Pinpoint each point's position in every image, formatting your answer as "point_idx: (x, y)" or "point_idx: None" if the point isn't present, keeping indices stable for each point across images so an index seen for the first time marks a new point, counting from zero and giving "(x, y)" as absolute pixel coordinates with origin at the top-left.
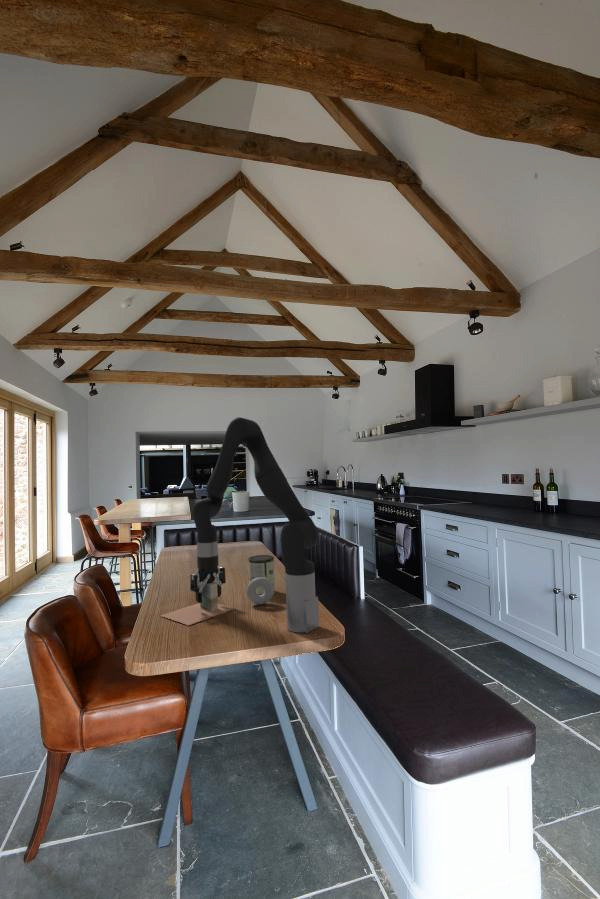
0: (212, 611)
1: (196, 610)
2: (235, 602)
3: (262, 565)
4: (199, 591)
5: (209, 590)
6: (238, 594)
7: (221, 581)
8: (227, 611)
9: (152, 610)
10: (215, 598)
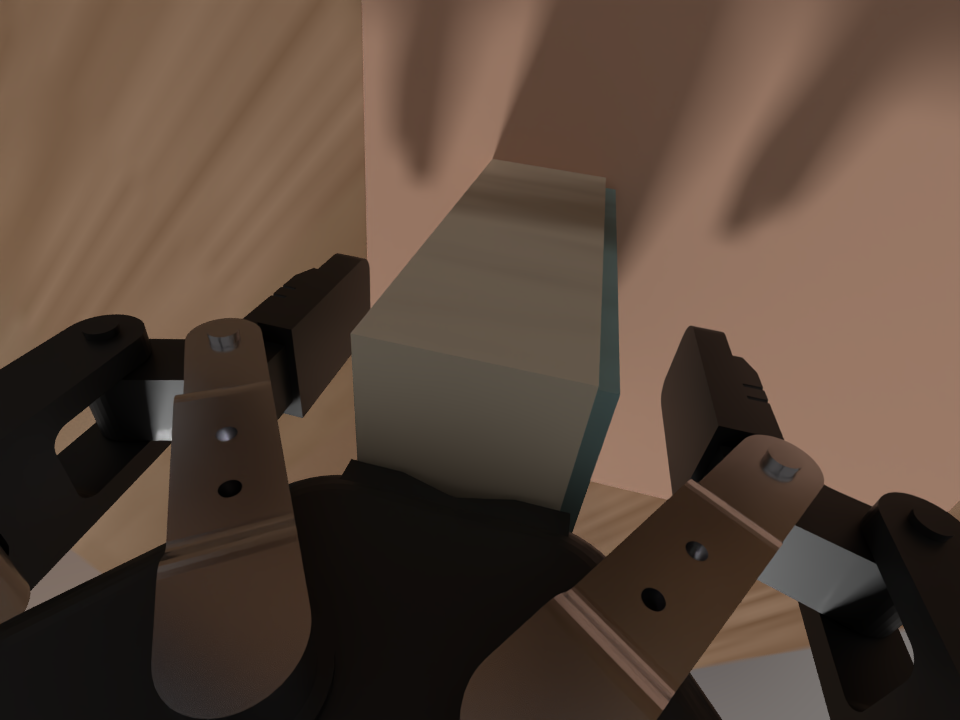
0: (630, 136)
1: (660, 349)
2: (196, 131)
3: None
4: (798, 461)
5: (618, 331)
6: (57, 281)
7: (150, 380)
8: None
9: (736, 639)
10: (505, 210)
